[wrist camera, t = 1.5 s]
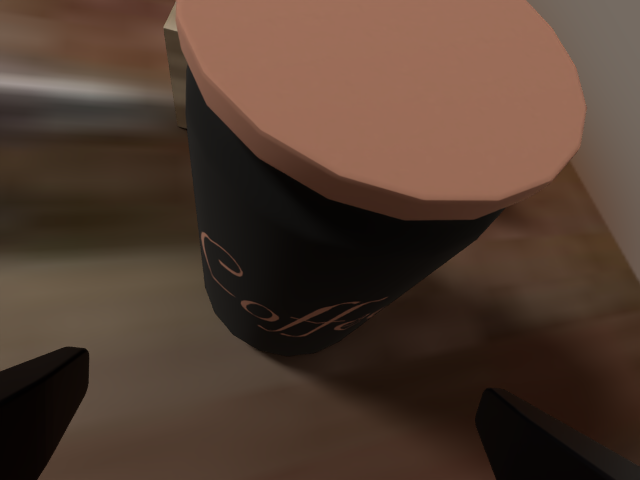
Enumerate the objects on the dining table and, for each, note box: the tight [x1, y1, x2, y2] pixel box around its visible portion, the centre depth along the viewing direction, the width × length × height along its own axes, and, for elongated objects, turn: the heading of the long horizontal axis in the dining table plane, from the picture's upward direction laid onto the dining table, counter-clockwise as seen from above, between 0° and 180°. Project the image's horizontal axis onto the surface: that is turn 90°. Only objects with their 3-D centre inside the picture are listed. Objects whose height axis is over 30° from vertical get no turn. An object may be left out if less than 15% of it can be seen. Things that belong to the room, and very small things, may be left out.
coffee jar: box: [175, 0, 587, 356], centre depth 17 cm, size 11×11×18 cm
